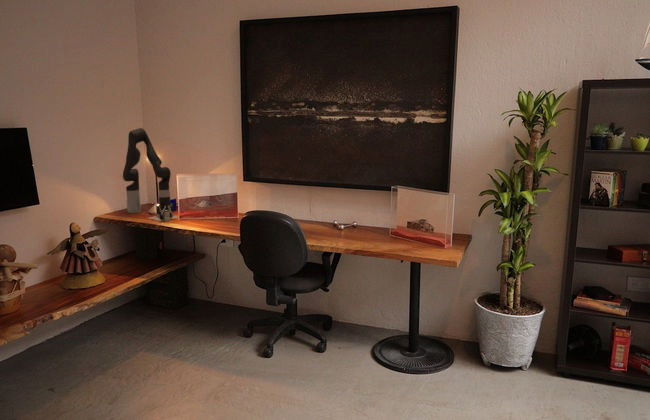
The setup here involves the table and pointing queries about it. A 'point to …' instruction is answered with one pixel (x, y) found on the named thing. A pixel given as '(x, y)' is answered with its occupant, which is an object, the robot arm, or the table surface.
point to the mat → (159, 218)
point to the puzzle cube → (172, 200)
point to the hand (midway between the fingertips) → (165, 219)
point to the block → (166, 216)
